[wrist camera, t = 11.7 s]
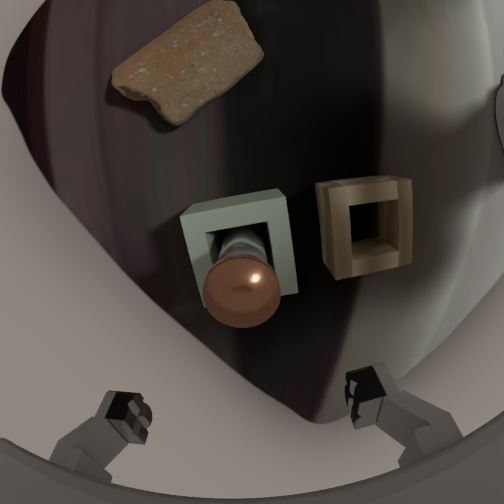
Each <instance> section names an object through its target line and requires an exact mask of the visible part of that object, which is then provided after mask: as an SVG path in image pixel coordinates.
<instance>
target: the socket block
mask: <svg viewBox="0 0 504 504" xmlns="http://www.w3.org/2000/svg"><path fill="white" fill-rule="evenodd" d="M180 220H181V224H182V228H183V232H184V236H185V240H186V244H187V248H188V252H189V255H190V259H191V263H192V267H193V270H194V274H195V278H196V281H197V285H198V288H199V292H200V295H201V299H202V302H203V305H204V308H206V306H205V304H204V301H203V293H202V292H203V286H204V282H205V279H206V276H207V274H208V272H209V270H210V269H211V267H212V266H213V265H214V264H215V263H216V262H217V261H218V259H219V255H220V248H219V243H218V239H217V234H216V230H221V229H226V228H232V227H237V226H243V225H249V224H254V223H260V222H266V227H267V233H268V240H269V246H270V252H271V256H266V258H267V263H268V264H269V265H270V266H271V267H272V268H273V269H274V271H275V273H276V275H277V277H278V281H279V285H280V289H281V296H283V295H288V294H294V293H298V286H297V278H296V269H295V261H294V253H293V246H292V238H291V231H290V224H289V217H288V210H287V203H286V197H285V196H284V195H283V194H282V193H281V192H280V191H279V189H278V188H277V189H271V190H265V191H259V192H253V193H248V194H242V195H236V196H231V197H226V198H221V199H215V200H210V201H205V202H200V203H196V204H192V205H191V206H190V207H189V208H188V209H187V210H186V211H185V212H184V213H183V214H182V215H181V216H180Z"/></svg>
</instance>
